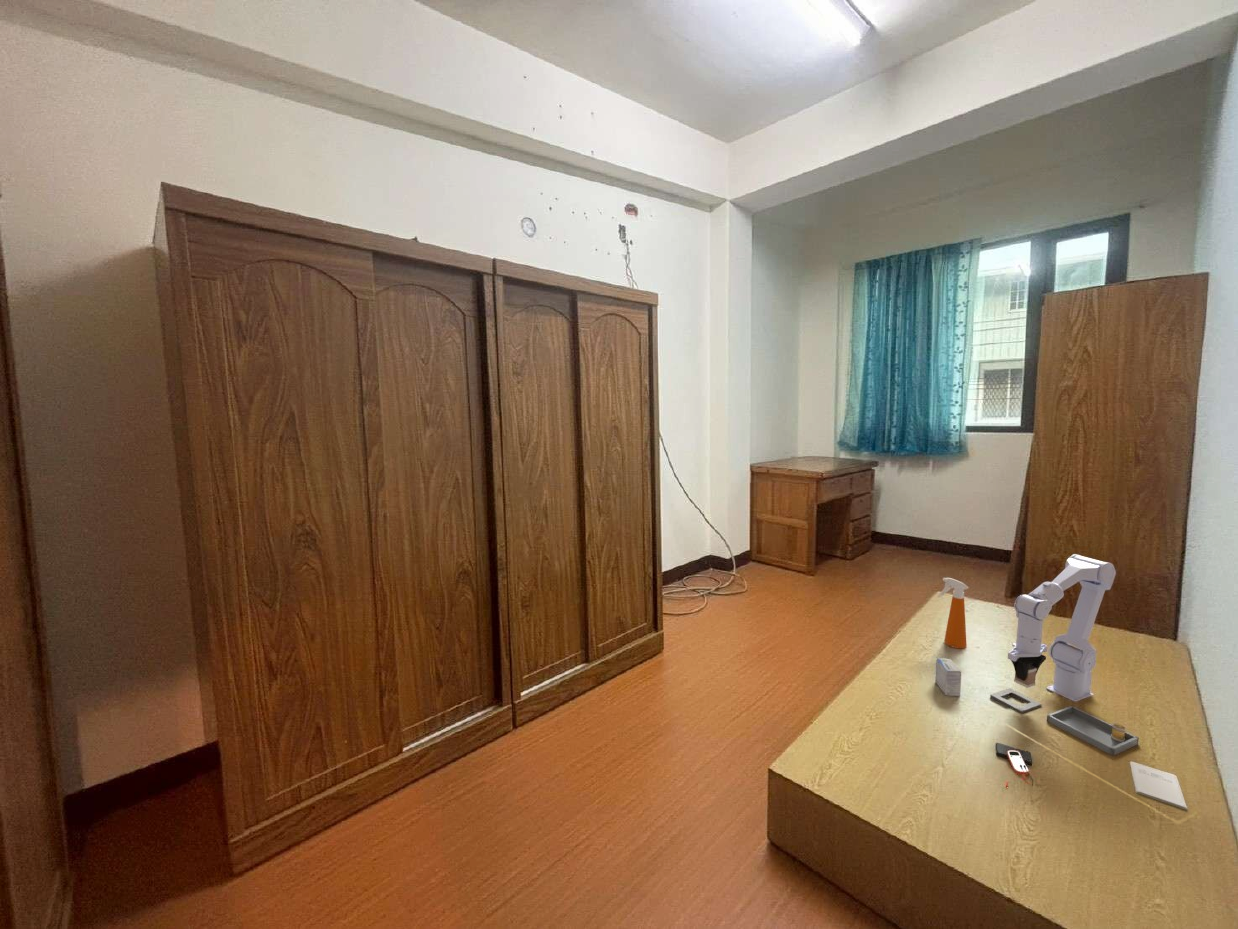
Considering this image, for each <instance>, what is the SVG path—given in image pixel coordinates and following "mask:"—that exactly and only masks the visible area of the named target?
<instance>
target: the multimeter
mask: <svg viewBox="0 0 1238 929" xmlns="http://www.w3.org/2000/svg"><path fill="white" fill-rule="evenodd" d="M995 754H996V757H998V758H1002V759H1007V760H1009V762H1010V765H1011V767H1012V769H1013V771H1014V772H1015V773H1016V774H1019V775H1022V776H1029V777H1030V780H1031V781H1032V783H1031V787H1033V784H1034V780H1033V778H1032V776H1031V775H1030V770H1029V768H1028V767H1032V766H1033V760H1032V759H1033V758H1032V755H1031V752H1030V751H1028V750H1024V749H1021V748H1018V747H1014V746H1010V745H1006V744H1004V743H999V742H995ZM1022 779H1023V780H1025V778H1024V777H1022ZM1026 783H1027V784H1028V785H1030V783H1029V782H1028V781H1026ZM1005 788H1006V789H1008V788H1009V782H1008V781H1006V785H1005Z"/></svg>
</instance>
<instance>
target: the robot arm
mask: <svg viewBox="0 0 1238 929" xmlns="http://www.w3.org/2000/svg"><path fill="white" fill-rule="evenodd" d="M1065 561H1066V562H1065V565H1064V566H1065V568H1064V569H1063V570H1062V571H1061V572H1060V573H1059V574H1058V575H1057V576H1055V578H1054V579H1053V580H1052V581H1043V582H1042V583H1041V584H1040V585H1038V586H1037V587H1036V588H1035V589H1033V590H1032V591H1031V592H1029V593H1028V594H1020V595H1019V596H1017V598H1016V599H1015V601H1014V604H1013V608H1014V610H1015V612H1016V613H1015V614H1016V615H1015V616H1016V618H1017V627H1016V628H1017V629H1016V642H1013V643H1012V647H1013V648H1012V649H1011V650H1010V651H1009V652H1007V659H1009V660H1010V661H1011V663H1012V666H1013V668H1014V674H1015V673H1016V677H1017V678H1019V679H1021V680H1023V681H1025V680H1026V678H1027V673H1028V670H1029V668H1030V666H1033V667H1035V668H1037V671H1036V674H1037V673H1038V670H1039V668H1040V666H1042V664H1043V663H1044V662H1045V661H1046V659H1047V656H1046V655H1044V654H1043V653H1046V652H1048V654H1049V657H1050V658H1051V659H1052V662H1053V663H1054V664H1055V666H1054V675H1053V676H1054V677H1053V683H1052V685H1049V686H1047V687H1045V688H1046V690H1048V691H1049V692H1052V693H1056V694H1058V695H1060V696H1062V697H1064V698H1066V699H1068V700H1070V701H1073V702H1074V703H1075V702H1079V701H1080V700H1084V699H1086V698H1089V697H1091V696H1094V695H1095V694H1094V693H1092V692H1091V687H1092V678H1093V675H1092V673H1091V671H1093V669H1095V666H1096V663H1097V660H1096V658H1097V654H1098V653H1097V650H1096V648H1095V647H1094V646H1093V644H1091V642H1090V641H1089V639H1090V636H1091V633H1092V630H1093V628H1094V624H1095V621H1096V619H1097V615H1098V613H1099V609H1100V606H1101V603H1102V601H1103V598H1104V594H1105V592H1106V591H1109V590H1111V588H1112V586H1113V583H1114V581H1115V577H1116V574H1117V570H1116V569H1115V566H1114V564H1113V563H1112V562H1107V561H1102V560H1098V559H1095V558H1091V557H1087V556H1083V555H1080V554H1078V553H1073V554H1072V555H1071V556H1069V557H1068V558H1067V559H1066V560H1065ZM1077 583H1079V584H1080V586H1081V589H1080V593H1079V595H1078V598H1077V601H1076V604H1075V607H1074V610H1073V613H1072V617H1071V619H1070V623H1069V625H1068V628H1067V631H1066V633H1063V634H1059V635H1056V636H1055V638H1054V640H1053V642H1051V644H1050V645H1049V649H1048V645H1046V644H1044V643H1042V639H1043V638H1042V637H1043V628H1044V627H1043V626H1044V619H1046V618H1047V617H1048V616H1049V613H1050V611H1052V608H1053V607H1052V606H1054V605H1055V604H1056V603H1058V602H1059V601H1061V599H1063V598H1064V596H1065V594H1064V591H1066V590H1067V589H1069V588H1071V587H1072V586H1074V585H1076V584H1077Z"/></svg>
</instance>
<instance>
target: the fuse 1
mask: <svg viewBox="0 0 1238 929" xmlns="http://www.w3.org/2000/svg"><path fill="white" fill-rule="evenodd" d="M1036 671H1037V668H1035V667H1033V666H1030V668H1029V670H1028V673H1027V678H1026V680H1025V681H1023V680H1021V679H1019V678H1017V677H1016V673H1015V672H1014V679H1013V682H1015V683H1016V684H1019V685H1020V686H1022V687H1025V688H1026V689H1028V688H1031V687H1034V686H1036V676H1037V673H1036ZM1037 672H1038V671H1037Z"/></svg>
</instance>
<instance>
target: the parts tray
mask: <svg viewBox="0 0 1238 929" xmlns="http://www.w3.org/2000/svg"><path fill="white" fill-rule="evenodd" d="M1046 722H1047V723H1050V724H1052V725H1053V726H1055V727H1057V728H1059V729H1061V730H1063V731H1064V732H1066V733H1068V734H1070V735H1072V736H1074V737H1076V738H1078V739H1079V740H1081V741H1084V742H1085V743H1088V744H1089V745H1091V746H1093V747H1095V748H1097V749H1099V750H1101V751H1102V752H1104V753H1107V754H1108V755H1111V756H1112V757H1113V756H1116V755H1118V754H1121V753H1122V752H1124V751H1127V750H1129V749H1132V748H1133V747H1136V746H1138V745H1139V737H1138V736H1136V735H1134V734H1132V733H1129V732H1128V731H1125V736H1124V739H1125V740H1124V742H1122V743H1119V742H1116V741H1114V740H1113V739H1111V734H1112V724H1111V723H1109V722H1107V721H1105V720H1102V719H1101V718H1098V717H1097V716H1095V715H1092V714H1090V713H1088V712H1086V711H1083V710H1082V709H1080V708H1078V707H1075V706H1073V705H1070V706H1067V707H1064V708H1062V709H1059V710H1056V711H1054V712H1052V713H1049V714H1047V716H1046Z"/></svg>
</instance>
